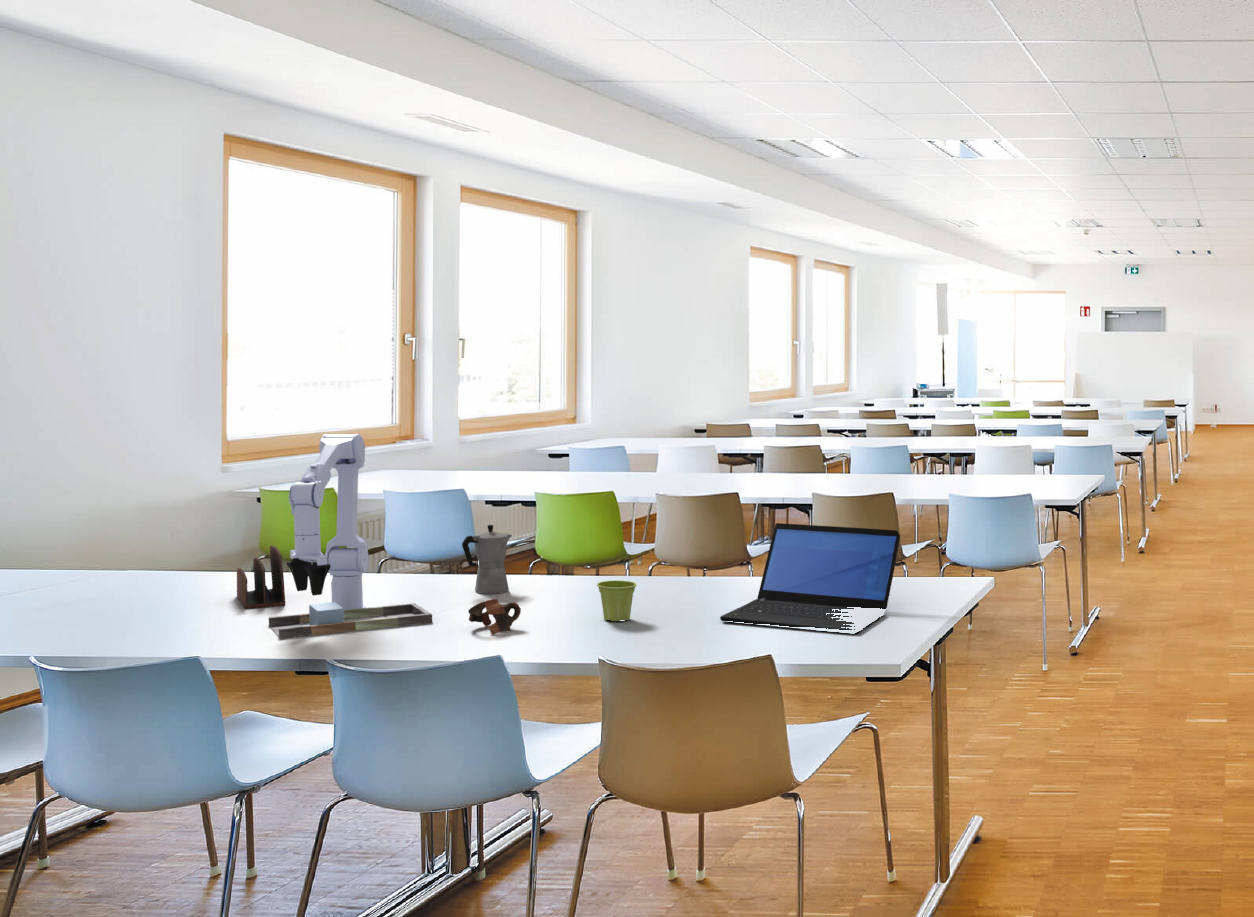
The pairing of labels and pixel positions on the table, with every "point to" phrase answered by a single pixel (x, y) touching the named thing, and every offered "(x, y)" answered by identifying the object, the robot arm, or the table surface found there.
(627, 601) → the plant pot
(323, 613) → the blue block
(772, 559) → the laptop
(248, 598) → the letter holder
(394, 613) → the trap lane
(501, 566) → the coffeepot
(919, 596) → the table surface
